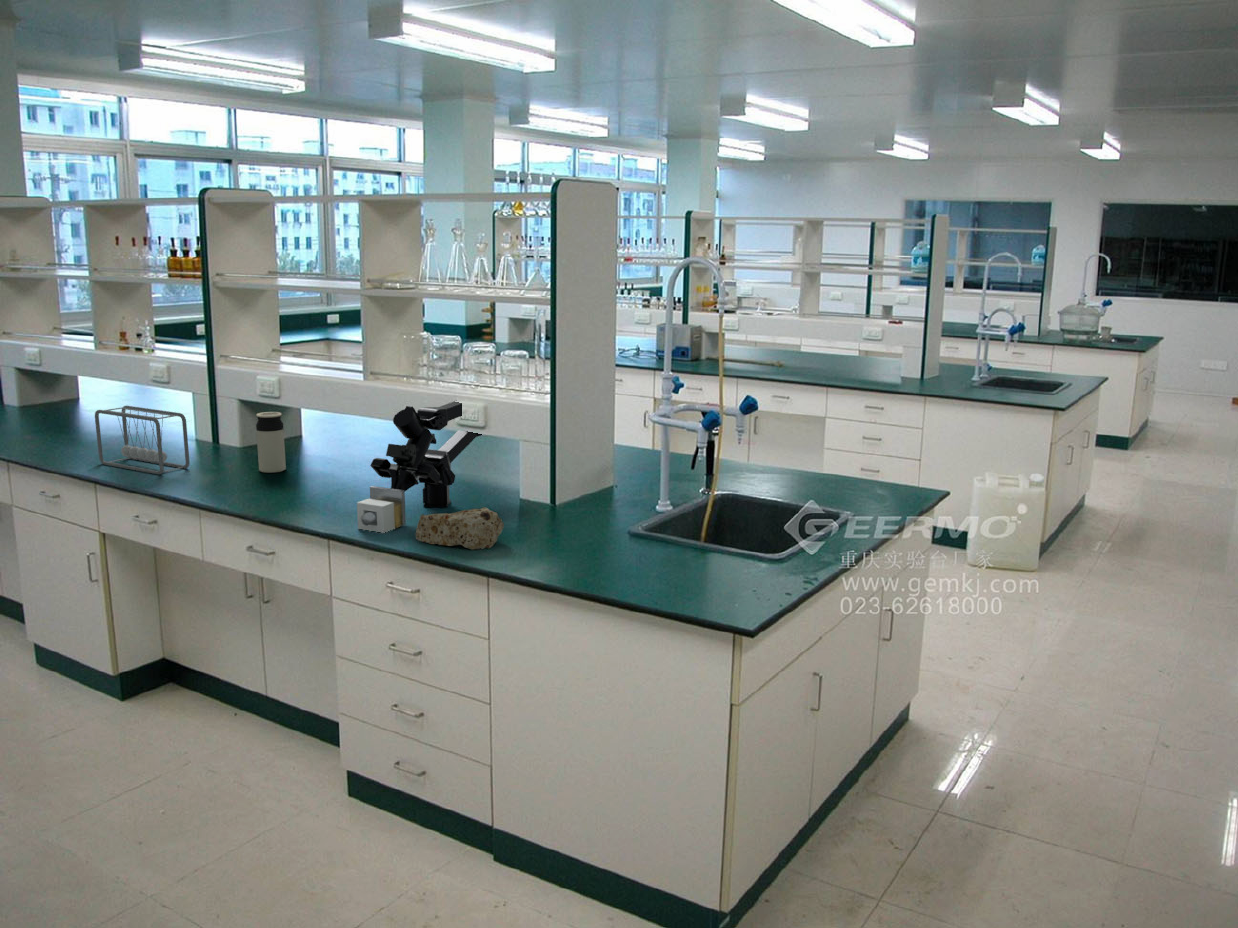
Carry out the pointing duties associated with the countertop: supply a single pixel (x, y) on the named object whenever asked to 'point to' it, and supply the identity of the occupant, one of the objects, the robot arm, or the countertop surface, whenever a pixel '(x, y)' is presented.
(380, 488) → the grey piece
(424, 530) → the rock
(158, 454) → the newton's cradle
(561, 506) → the countertop surface
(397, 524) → the spacer
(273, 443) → the travel mug
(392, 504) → the block
